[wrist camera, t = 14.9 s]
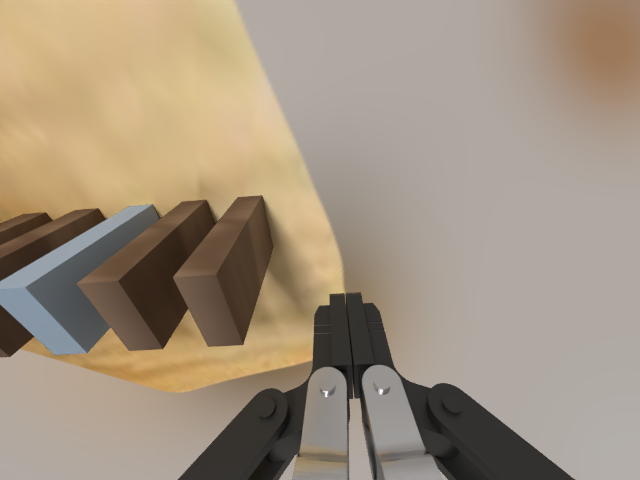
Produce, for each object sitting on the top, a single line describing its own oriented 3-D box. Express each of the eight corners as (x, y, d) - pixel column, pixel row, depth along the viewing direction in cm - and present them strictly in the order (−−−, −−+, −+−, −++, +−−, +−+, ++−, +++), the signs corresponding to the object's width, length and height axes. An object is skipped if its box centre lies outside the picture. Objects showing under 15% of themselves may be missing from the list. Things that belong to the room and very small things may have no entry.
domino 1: (107, 259, 23) (-22, 358, 14) (75, 210, 20) (-107, 295, 12) (127, 257, 23) (10, 356, 14) (98, 208, 20) (-68, 292, 12)
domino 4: (251, 248, 22) (207, 346, 14) (237, 197, 20) (172, 277, 11) (273, 247, 22) (243, 344, 13) (262, 195, 19) (215, 274, 11)
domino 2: (155, 255, 23) (54, 354, 14) (129, 206, 20) (-15, 290, 11) (176, 254, 22) (87, 353, 14) (152, 204, 20) (24, 287, 11)
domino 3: (202, 252, 22) (129, 350, 14) (182, 201, 20) (76, 283, 11) (223, 250, 22) (163, 349, 14) (206, 199, 20) (117, 280, 11)
